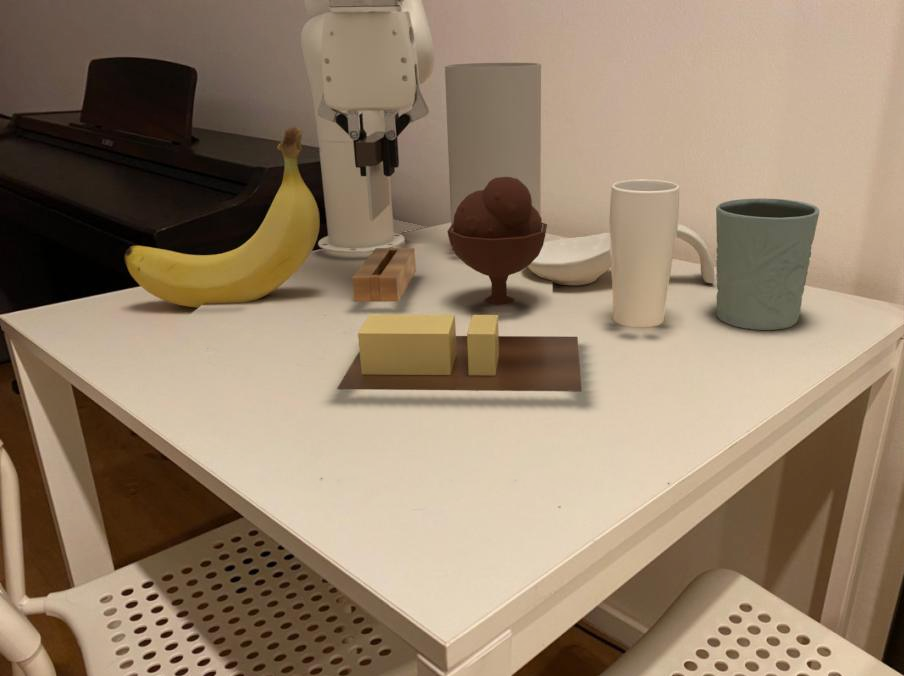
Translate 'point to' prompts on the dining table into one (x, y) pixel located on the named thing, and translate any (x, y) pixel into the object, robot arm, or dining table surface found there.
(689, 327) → the dining table surface
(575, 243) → the spoon rest
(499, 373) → the board
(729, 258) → the green cup
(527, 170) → the cylinder vase
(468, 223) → the ice cream bowl
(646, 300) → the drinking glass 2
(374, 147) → the knife
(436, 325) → the butter
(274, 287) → the banana
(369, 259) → the knife block
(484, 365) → the butter slice
